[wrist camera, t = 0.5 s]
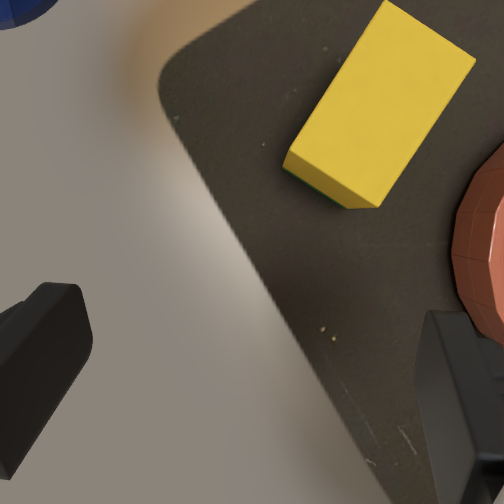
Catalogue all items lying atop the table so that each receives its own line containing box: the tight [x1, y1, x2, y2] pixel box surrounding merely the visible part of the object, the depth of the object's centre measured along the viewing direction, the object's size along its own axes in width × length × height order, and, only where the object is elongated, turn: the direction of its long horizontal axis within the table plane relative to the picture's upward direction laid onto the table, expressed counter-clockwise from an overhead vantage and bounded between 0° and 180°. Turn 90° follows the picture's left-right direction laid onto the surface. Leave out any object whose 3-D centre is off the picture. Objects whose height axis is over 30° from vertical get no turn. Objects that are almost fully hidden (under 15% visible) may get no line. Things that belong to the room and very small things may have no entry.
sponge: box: [282, 0, 476, 209], centre depth 22 cm, size 4×7×8 cm, turn 147°
